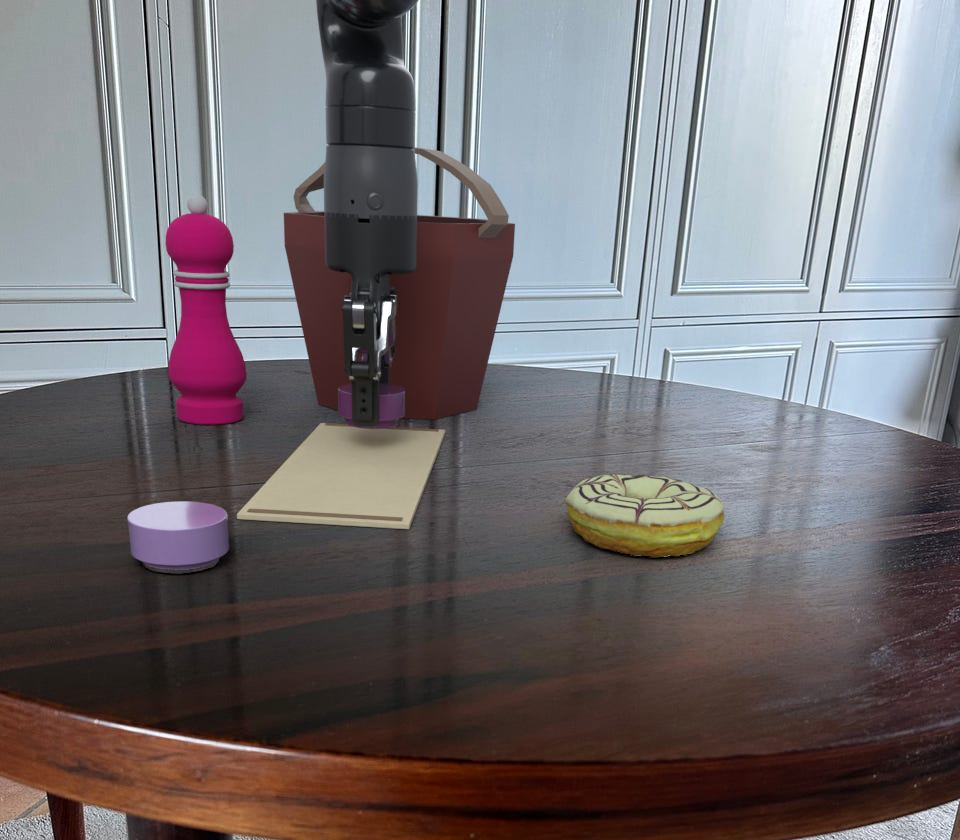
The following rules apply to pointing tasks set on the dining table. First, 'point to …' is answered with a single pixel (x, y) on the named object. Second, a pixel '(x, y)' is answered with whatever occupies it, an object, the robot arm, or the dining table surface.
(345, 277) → the bucket
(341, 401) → the plum dish
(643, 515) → the decorated donut
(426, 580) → the dining table surface
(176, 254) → the pepper mill
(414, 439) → the placemat
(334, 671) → the dining table surface
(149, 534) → the lilac dish
